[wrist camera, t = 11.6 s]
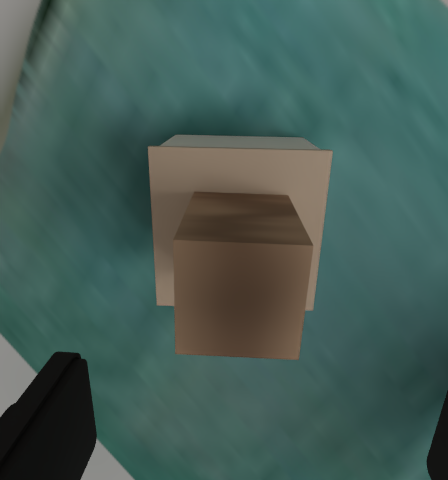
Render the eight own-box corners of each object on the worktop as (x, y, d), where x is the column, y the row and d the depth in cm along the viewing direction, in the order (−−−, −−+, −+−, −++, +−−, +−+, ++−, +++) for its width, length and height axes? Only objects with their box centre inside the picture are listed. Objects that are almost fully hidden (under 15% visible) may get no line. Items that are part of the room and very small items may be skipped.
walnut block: (288, 195, 20) (313, 245, 13) (280, 279, 21) (298, 359, 15) (194, 191, 20) (172, 240, 13) (194, 275, 22) (175, 353, 15)
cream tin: (305, 134, 26) (332, 150, 19) (293, 255, 30) (312, 310, 22) (173, 131, 26) (147, 146, 19) (177, 252, 30) (157, 305, 22)
